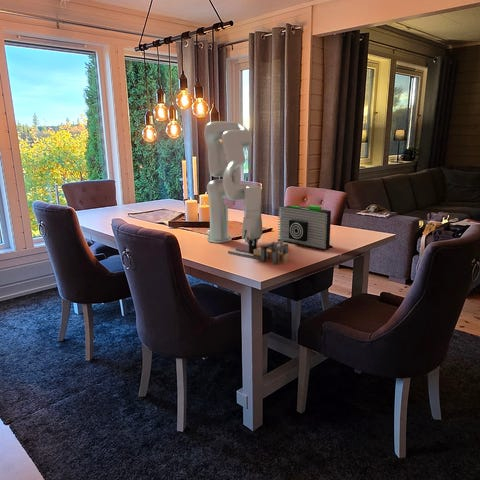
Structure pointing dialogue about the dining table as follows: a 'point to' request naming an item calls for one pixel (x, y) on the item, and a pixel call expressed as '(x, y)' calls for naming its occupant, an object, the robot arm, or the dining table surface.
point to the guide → (244, 254)
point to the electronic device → (305, 226)
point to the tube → (282, 256)
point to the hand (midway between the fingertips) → (252, 253)
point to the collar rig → (275, 250)
